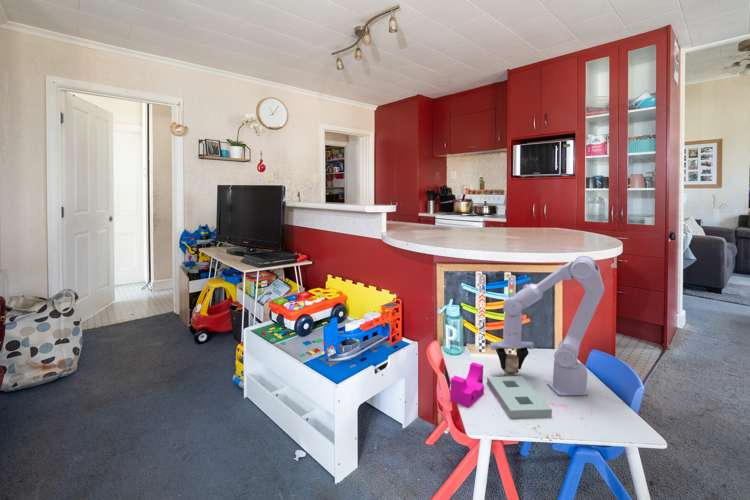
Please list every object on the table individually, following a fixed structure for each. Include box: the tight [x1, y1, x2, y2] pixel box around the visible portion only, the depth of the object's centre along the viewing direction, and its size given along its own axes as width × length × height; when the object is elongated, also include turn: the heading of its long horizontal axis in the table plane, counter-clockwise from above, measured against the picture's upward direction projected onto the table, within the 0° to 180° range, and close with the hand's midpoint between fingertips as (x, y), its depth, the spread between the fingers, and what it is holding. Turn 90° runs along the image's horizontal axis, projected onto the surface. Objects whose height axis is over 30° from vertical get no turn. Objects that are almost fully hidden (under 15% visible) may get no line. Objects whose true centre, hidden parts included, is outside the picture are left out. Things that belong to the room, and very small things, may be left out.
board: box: [486, 375, 553, 420], centre depth 118 cm, size 12×20×2 cm, turn 2°
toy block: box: [450, 361, 485, 408], centre depth 121 cm, size 15×6×8 cm, turn 140°
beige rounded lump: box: [503, 353, 519, 377], centre depth 133 cm, size 5×5×7 cm
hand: (510, 368), depth 133 cm, fingers closed on beige rounded lump, 5 cm apart
